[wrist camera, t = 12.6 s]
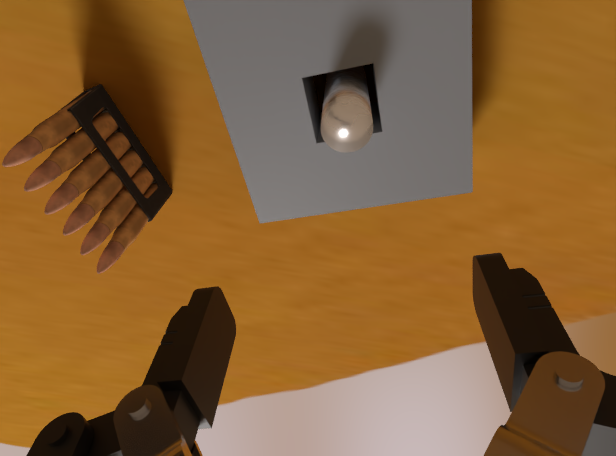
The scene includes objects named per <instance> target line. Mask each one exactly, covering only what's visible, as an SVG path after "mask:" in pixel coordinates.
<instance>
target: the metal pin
mask: <svg viewBox="0 0 616 456" xmlns="http://www.w3.org/2000/svg"><path fill="white" fill-rule="evenodd" d="M372 133H373V119H372V113H371V106H370V99H369V93H368V86H367V79H366V73H365V70H364V67H363V66H357V67H352V68H348V69H343V70H338V71H333V72H328V73H327V76H326V84H325V93H324V102H323V110H322V119H321V135H322V137H323V140H324V141H325V143H326V144H327V145H328V146H329V147H331V148H332V149H334V150H336V151H339V152H344V153H348V152H354V151H357V150H359V149H361V148H362V147H364V146H365V145H366V144H367V143H368V141H369V140H370V138H371V136H372Z"/></svg>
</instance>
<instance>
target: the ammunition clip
mask: <svg viewBox="0 0 616 456" xmlns="http://www.w3.org/2000/svg"><path fill="white" fill-rule="evenodd" d="M80 127H82V128H81V129H80V130H79V131H78V132H76V133H75V131H76V130H77V129H79V128H80ZM65 138H66V139H67V140H66V141H65V142H64V143H62V144H61V145H60V146H58V147H57V148H56V149H55V150H54V151H53V152H52V153H51V155H50V156H49V157H48V158H47V159H46V160H45V161H44V162H43V163H42V164H41V165H40V166H39V167H37V168H36V169H35V171H34V172H33V173H32V174H31V175H30V177H29V178H28V180H27V182H26V184H25V187H24V190H25V191H33V190H36V189H39V188H41V187H43V186H45V185H47V184H48V183H50V182H51V181H53V180H54V179H55V178H57V177H58V176H60V175H61V174H62V173H64V172H65V171H67V170H69V169H71V168H73V167H74V166H76V165H77V164H78V163H79V162H80V161H81V160H83V161H82V162H81V163H80V164H79V165H78V166H77V167H76V168H75V169H74V170H73V171H72V172H71V173H70V174H69V176H68V178H67V179H66V180H65V181H64V182H63V183H62V185H61V186H60V187H59V188H58V189H57V190H56V191H55V192H54V193H53V195H52V196H51V197H50V199H49V201H48V203H47V205H46V207H45V214H52V213H55V212H57V211H59V210H61V209H62V208H64V207H65V206H67V205H68V204H70V203H71V202H72V201H73V200H74V199H75V198H76V197H78V196H79V195H80V194H81V193H82V192H84V191H86V190H87V189H89V188H90V187H91V188H90V189H89V190H88V191H87V193H86V195H85V197H84V198H83V200H82V201H81V202H80V203H79V205H78V206H77V208H76V209H75V210H74V211H73V212H72V214H71V215H70V216H69V218H68V220H67V222H66V224H65V226H64V229H63V234H64V235H69V234H72V233H74V232H75V231H77V230H79V229H80V228H82V227H83V226H84V225H85V224H86V223H88V222H89V220H90V219H91V218H92V217H94V216H95V215H96V214H97V213H98V212H99V211H100V210H101V209H103V208H104V207H105V208H104V209H103V210H102V212H101V213H100V215H99V218H98V220H97V221H96V222H95V224H94V225H93V227H92V228H91V229H90V231H89V232H88V234H87V235H86V237H85V239H84V241H83V243H82V246H81V252H80V253H81V255H85V254H88V253H89V252H91V251H93V250H94V249H95V248H97V247H98V246H99V245H100V244H101V243H102V242H103V241H104V240H105V239H106V237H107V236H108V235H109V234H110V233H111V232H112V231H113V230H114V229H115V228H116V227H117V228H116V230H115V232H114V234H113V237H112V239H111V240H110V242H109V243H108V245H107V247H106V248H105V250H104V251H103V253H102V255H101V257H100V259H99V262H98V265H97V273H98V274H100V273H102V272H104V271H106V270H107V269H108V268H110V267H111V266H112V265H113V264H114V263H115V262H116V261H117V260H118V259H119V257H120V256H121V254H122V253H123V252H124V251H125V250H126V248H127V247H128V246H129V245H130V244H132V243H133V242H134V240H135V239H136V238H137V236H138V235H139V233H140V232H141V230H142V229H143V227H144V226H145V224H146V223H147V221H148V222H149V221H152V219H153V218H154V216H155V215H156V214H157V212H158V211H159V210H160V209H161V207H162V206H163V205H164V203H165V202H166V201H167V199H168V198H169V197H170V195H171V194H172V190H171V188H170V187H169V185H168V184H167V182H166V181H165V179H164V178H163V176H162V175H161V173H160V172H159V170H158V169H157V167H156V166H155V164H154V163H153V161H152V159H151V158H150V156H149V155H148V153H147V152H146V150H145V149H144V147H143V146H142V144H141V143H140V141H139V140H138V138H137V137H136V135H135V134H134V132H133V131H132V129H131V128H130V126H129V125H128V123H127V122H126V120H125V119H124V117H123V116H122V114H121V113H120V111H119V110H118V108H117V107H116V105H115V104H114V102H113V101H112V99H111V98H110V96H109V95H108V93H107V92H106V90H105V89H104V87H103V86H102V85H101V84H99V85H97V86H95V87H93V88H90V89H88V90H86V91H84V92H82V93H81V94H80V95H79V96H77V97H76V98H75V99H73V100H72V101H71V102H70V103H68V104H67V105H66V106H64V107H63V108H62V109H60V110H59V111H58V112H57V113H55V114H54V115H52V116H51V117H49V118H48V119H46V120H45V121H43V122H42V123H40V124H39V125H37V126H36V127H35V128H34V129H33V131H32V132H31V133H30V134H29V135H27V136H26V137H25V138H24V139H23V140H21V141H20V142H18V143H17V144H16V145H15V146H14V147H13V148H12V149H11V150H10V151H9V152H8V153H7V155H6V156H5V158H4V160H3V166H4V167H11V166H15V165H19V164H21V163H24V162H26V161H28V160H30V159H32V158H33V157H35V156H36V155H38V154H40V153H41V152H43V151H45V150H46V149H48V148H51V147H54V146H56V145H57V144H58V143H60V142H61V141H62V140H64V139H65ZM104 140H106V141H104ZM96 147H97V149H96V150H95V151H93V150H94V149H95V148H96ZM92 151H93V152H92ZM91 152H92V153H91Z"/></svg>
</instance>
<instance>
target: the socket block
mask: <svg viewBox="0 0 616 456" xmlns="http://www.w3.org/2000/svg"><path fill="white" fill-rule="evenodd" d="M184 3H185V6H186V9H187V12H188V14H189V17H190V20H191V23H192V26H193V29H194V32H195V35H196V38H197V41H198V44H199V47H200V50H201V53H202V55H203V58H204V61H205V64H206V67H207V70H208V73H209V76H210V79H211V82H212V85H213V88H214V91H215V94H216V96H217V99H218V102H219V105H220V108H221V111H222V114H223V117H224V120H225V123H226V126H227V129H228V132H229V135H230V137H231V140H232V143H233V146H234V149H235V152H236V155H237V158H238V161H239V164H240V167H241V170H242V173H243V176H244V178H245V181H246V184H247V187H248V190H249V193H250V196H251V199H252V202H253V205H254V208H255V211H256V214H257V217H258V219H259V222H260V223H265V222H272V221H279V220H286V219H293V218H300V217H306V216H313V215H320V214H327V213H334V212H341V211H347V210H354V209H361V208H368V207H375V206H382V205H388V204H395V203H402V202H409V201H416V200H423V199H429V198H436V197H443V196H450V195H457V194H464V193H470V192H472V0H184ZM367 64H372V69H373V77H374V85H375V92H376V100H377V102H374V103H370V106H371V113H372V119H373V133H372V136H371V138H370V140H369V141H368V143H367V144H366V145H365V146H364V147H362V148H361V149H359V150H357V151H354V152H348V153H344V152H339V151H336V150H334V149H332V148H331V147H329V146H328V145H327V144H326V143H325V141H324V140H323V137H322V135H321V119H322V112H321V113H320V108H319V103H318V99H317V94H316V89H315V84H314V79H313V76H314V75H319V74H323V73H328V72H333V71H338V70H343V69H348V68H352V67H357V66H362V65H367Z"/></svg>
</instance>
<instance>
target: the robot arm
mask: <svg viewBox="0 0 616 456" xmlns="http://www.w3.org/2000/svg"><path fill="white" fill-rule="evenodd" d="M473 300H474V306H475V310H476V314H477V317H478V319H479V322H480V325H481V328H482V331H483V334H484V337H485V340H486V343H487V345H488V348H489V351H490V354H491V357H492V360H493V363H494V366H495V368H496V371H497V374H498V377H499V380H500V383H501V386H502V389H503V391H504V394H505V397H506V400H507V403H508V406H509V409H510V412H512V413H511V415H510V417H509V419H508V421H507V423H506V424H505V425H504V426H503V425H501V426H500V427H499V428H498V429H497V431H496V433H495V434H494V436H493V438H492V440H491V442H490V444H489V446H488V448H487V450H486V452H485V454H484V456H616V376H613V375H610V374H607V373H605V372H602V371H600V370H599V369H598V368H597V367H596V366H595V365H594V364H593V363H592V362H590V361H589V360H587V359H586V358H584V357H582V356H580V355H579V353H578V352H577V350H576V349H575V347H574V345H573V343H572V341H571V340H570V338H569V336H568V334H567V332H566V330H565V329H564V327H563V325H562V323H561V321H560V320H559V318H558V316H557V314H556V312H555V311H554V309H553V308H552V307H551V303H550V302H549V300H548V298H547V296H545V292H544V291H543V289H542V287H541V285H540V283H539V282H538V280H537V279H536V278H535V277H534V276H532V275H531V274H530V273H529V272H527V271H526V270H525V269H524V268H517V269H509V268H508V266H507V264H506V262H505V260H504V258H503V256H502V254H501V253H493V254H485V255H477V256H473ZM235 336H236V324H235V319H234V317H233V314H232V312H231V310H230V308H229V305H228V303H227V301H226V299H225V297H224V294H223V292H222V290H221V289H220V288H219V287H209V288H201V289H196V290H195V291H194V292H193V294H192V297H191V299H190V302H189V304H188V306H182V307H181V308H180V309H179V310H178V312H177V313H176V314H175V315H174V316H173V317H172V318H171V320H170V323H169V325H168V327H167V329H166V334H165V335H164V336H163V339H162V341H161V345H160V346H159V348H158V350H157V352H156V355H155V357H154V359H153V362H152V364H151V366H150V368H149V371H148V373H147V375H146V378H145V380H144V382H143V384H142V386H141V387H138V388H136V389H134V390H132V391H131V392H129V393H128V394H127V395H126V396H125V397H124V398H123V399H122V400H121V401H120V402H119V404H118V406H117V407H116V409H115V411H113V412H110V413H107V414H105V415H102V416H99V417H97V418H94V419H91V420H89V421H86V419H85V418H84V417H83V416H82V415H81V414H79V413H75V412H72V413H66V414H63V415H61V416H59V417H57V418H56V419H54V420H53V421H51V422H50V423H49V424H48V425H46V426H45V427H44V428H43V430H42V431H41V432H40V433H39V435H38V436H37V438H36V439H35V441H34V443H33V445H32V447H31V449H30V450H29V452H28V454H27V456H202V453H201V451H200V449H199V447H198V444H197V443H196V441H195V437H196V434H197V430H198V429H206V428H212V424H213V421H214V417H215V413H216V409H217V405H218V401H219V398H220V394H221V390H222V386H223V382H224V378H225V375H226V371H227V367H228V363H229V359H230V355H231V352H232V348H233V344H234V340H235Z"/></svg>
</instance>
